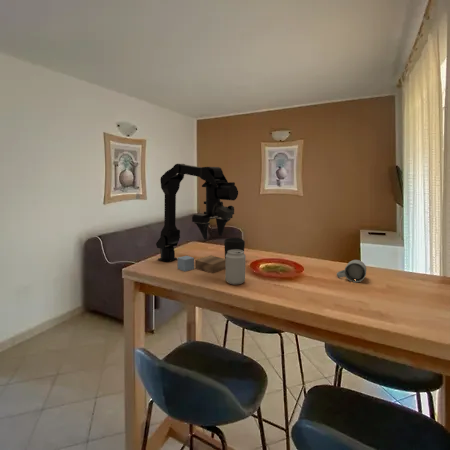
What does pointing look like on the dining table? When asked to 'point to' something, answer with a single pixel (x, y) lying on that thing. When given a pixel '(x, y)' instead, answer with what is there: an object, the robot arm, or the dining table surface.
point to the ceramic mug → (354, 271)
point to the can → (235, 267)
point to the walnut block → (210, 264)
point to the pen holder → (233, 244)
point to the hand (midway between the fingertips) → (213, 237)
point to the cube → (185, 263)
